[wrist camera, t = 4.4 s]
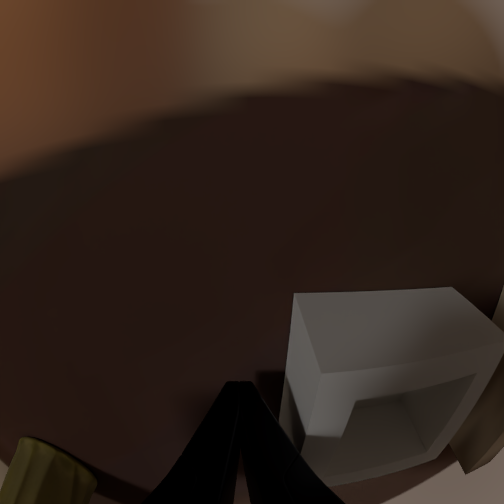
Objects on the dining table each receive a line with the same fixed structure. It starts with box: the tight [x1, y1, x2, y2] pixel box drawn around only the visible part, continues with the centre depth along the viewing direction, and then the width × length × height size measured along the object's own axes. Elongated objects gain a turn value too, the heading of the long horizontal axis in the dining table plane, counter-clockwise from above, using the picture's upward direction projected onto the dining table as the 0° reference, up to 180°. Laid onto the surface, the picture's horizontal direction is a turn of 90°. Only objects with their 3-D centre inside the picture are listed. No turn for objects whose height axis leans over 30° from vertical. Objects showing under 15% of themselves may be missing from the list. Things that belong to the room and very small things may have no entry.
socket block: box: [279, 287, 504, 487], centre depth 8 cm, size 6×6×4 cm
